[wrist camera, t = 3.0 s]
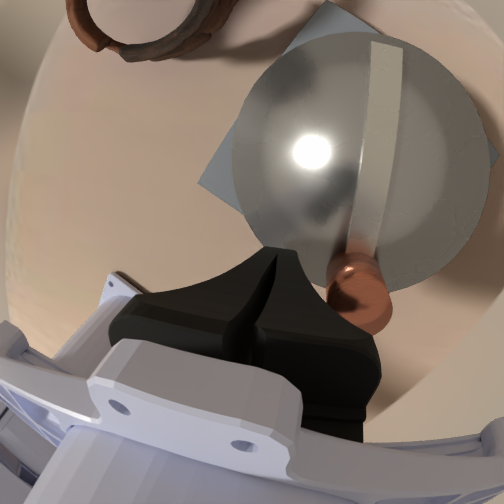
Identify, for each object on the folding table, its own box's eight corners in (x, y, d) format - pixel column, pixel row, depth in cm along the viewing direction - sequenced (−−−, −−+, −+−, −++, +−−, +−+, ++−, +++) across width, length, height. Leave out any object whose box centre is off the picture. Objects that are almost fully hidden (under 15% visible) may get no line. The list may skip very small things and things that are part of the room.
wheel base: (366, 295, 17) (369, 308, 16) (203, 179, 16) (195, 184, 15) (491, 152, 11) (502, 155, 10) (325, 6, 10) (326, -3, 9)
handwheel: (369, 298, 16) (383, 373, 11) (207, 182, 15) (151, 219, 10) (493, 155, 10) (561, 183, 5) (330, 8, 9) (336, -49, 4)
